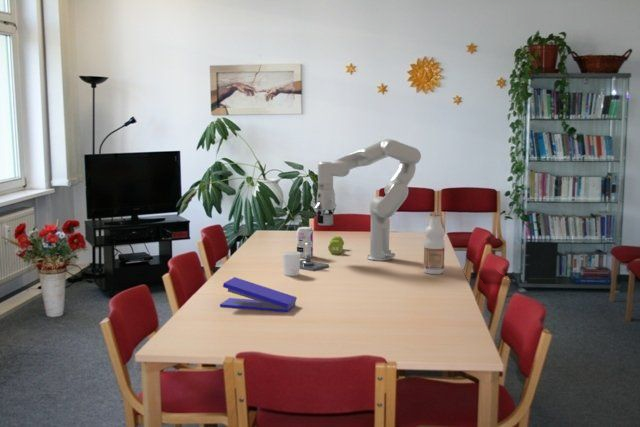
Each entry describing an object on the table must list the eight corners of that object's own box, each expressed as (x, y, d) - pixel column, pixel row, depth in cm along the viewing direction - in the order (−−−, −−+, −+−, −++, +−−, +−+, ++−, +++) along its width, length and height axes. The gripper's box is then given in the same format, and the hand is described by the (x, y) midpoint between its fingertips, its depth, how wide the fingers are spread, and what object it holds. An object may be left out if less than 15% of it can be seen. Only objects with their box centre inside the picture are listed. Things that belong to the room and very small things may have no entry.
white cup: (298, 276, 334) (298, 255, 332) (281, 276, 335) (281, 254, 334) (301, 273, 341) (302, 251, 340) (285, 272, 343) (285, 251, 341)
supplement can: (313, 255, 382) (313, 226, 380) (311, 258, 374) (311, 229, 372) (297, 254, 383) (298, 226, 381) (295, 258, 375) (295, 229, 372)
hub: (335, 224, 367) (335, 214, 366) (326, 225, 361) (326, 215, 360) (324, 222, 371) (324, 212, 370) (315, 224, 366) (315, 214, 365)
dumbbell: (342, 255, 384) (342, 241, 383) (327, 254, 384) (327, 241, 383) (344, 249, 400) (344, 236, 399) (329, 248, 401) (329, 235, 400)
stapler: (230, 300, 294) (229, 276, 292) (297, 305, 287) (297, 281, 285) (218, 308, 283) (218, 283, 281) (288, 313, 276) (288, 288, 274)
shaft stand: (328, 266, 355) (328, 243, 353) (313, 270, 346) (313, 247, 344) (303, 262, 365) (303, 239, 363) (287, 266, 355) (287, 243, 354)
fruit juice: (419, 271, 346) (420, 212, 342) (434, 269, 351) (436, 211, 347) (432, 275, 338) (434, 215, 334) (448, 273, 343) (449, 213, 339)
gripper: (320, 188, 354) (320, 225, 357) (342, 185, 368) (342, 220, 370) (308, 187, 359) (308, 223, 361) (330, 184, 372) (330, 219, 375)
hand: (325, 222), depth 366 cm, fingers closed on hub, 7 cm apart
